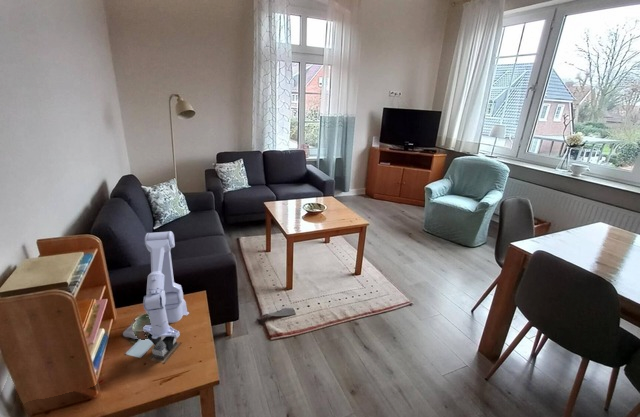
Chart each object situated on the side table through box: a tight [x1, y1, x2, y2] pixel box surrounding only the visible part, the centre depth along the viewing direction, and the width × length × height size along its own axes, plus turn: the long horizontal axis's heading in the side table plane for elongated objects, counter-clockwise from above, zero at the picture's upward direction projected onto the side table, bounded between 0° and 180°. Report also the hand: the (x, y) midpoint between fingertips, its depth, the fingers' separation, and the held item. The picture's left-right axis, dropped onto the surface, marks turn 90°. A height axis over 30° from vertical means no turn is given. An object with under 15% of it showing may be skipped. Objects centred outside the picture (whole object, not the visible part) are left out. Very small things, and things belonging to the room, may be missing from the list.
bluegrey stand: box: [124, 339, 154, 359], centre depth 123 cm, size 7×10×2 cm
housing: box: [151, 337, 178, 360], centre depth 120 cm, size 8×4×5 cm, turn 168°
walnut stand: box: [148, 342, 182, 364], centre depth 121 cm, size 7×10×2 cm
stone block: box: [122, 322, 139, 341], centre depth 132 cm, size 12×5×10 cm
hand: (164, 347), depth 120 cm, fingers closed on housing, 4 cm apart
